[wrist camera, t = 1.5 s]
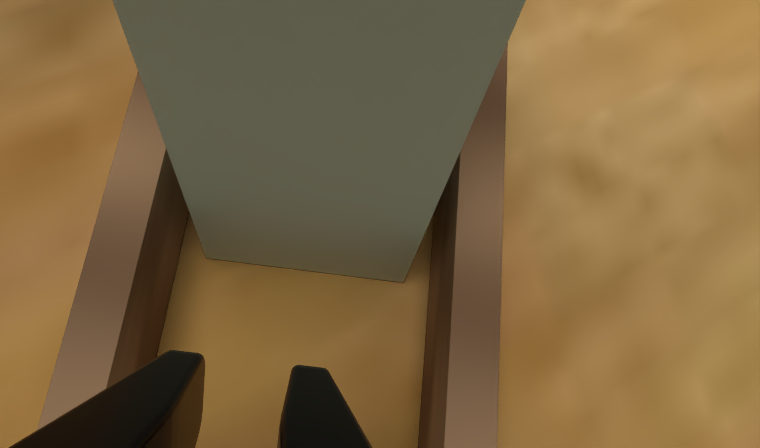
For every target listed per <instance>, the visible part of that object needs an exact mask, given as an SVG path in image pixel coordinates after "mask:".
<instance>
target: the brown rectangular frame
mask: <svg viewBox="0 0 760 448" xmlns="http://www.w3.org/2000/svg"><path fill="white" fill-rule="evenodd" d="M507 47H508V42H507V45H506V47H505V49H504V52H503V54H502V56H501V59H500V61H499V63H498V65H497V68H496V70H495V72H494V75H493V77H492V79H491V82H490V84H489V86H488V89H487V91H486V93H485V95H484V98H483V100H482V102H481V105H480V107H479V109H478V112H477V114H476V116H475V119H474V121H473V123H472V125H471V128H470V130H469V132H468V135H467V137H466V139H465V142H464V144H463V146H462V149H461V151H460V153H459V155H458V158H457V160H456V162H455V165H454V167H453V169H452V172H451V174H450V176H449V179H448V181H447V183H446V185H445V188H444V190H443V192H442V195H441V197H440V199H439V202H438V204H437V206H436V209H435V211H434V225H433V239H432V253H431V268H430V282H429V296H428V311H427V325H426V339H425V353H424V368H423V382H422V396H421V411H420V425H419V439H418V448H497V421H498V383H499V346H500V308H501V271H502V234H503V196H504V159H505V121H506V84H507ZM188 213H189V210H188V207H187V204H186V201H185V199H184V196H183V193H182V190H181V188H180V185H179V182H178V179H177V177H176V174H175V171H174V168H173V166H172V163H171V160H170V157H169V155H168V152H167V149H166V146H165V143H164V141H163V138H162V135H161V132H160V130H159V127H158V124H157V121H156V119H155V116H154V113H153V110H152V108H151V105H150V102H149V99H148V97H147V94H146V91H145V88H144V86H143V83H142V80H141V77H140V74H139V72H138V74H137V77H136V81H135V84H134V88H133V91H132V95H131V98H130V102H129V106H128V109H127V113H126V116H125V120H124V123H123V127H122V130H121V134H120V138H119V141H118V145H117V148H116V152H115V155H114V159H113V162H112V166H111V170H110V173H109V177H108V180H107V184H106V187H105V191H104V194H103V198H102V202H101V205H100V209H99V212H98V216H97V219H96V223H95V226H94V230H93V234H92V237H91V241H90V244H89V248H88V251H87V255H86V258H85V262H84V266H83V269H82V273H81V276H80V280H79V283H78V287H77V290H76V294H75V298H74V301H73V305H72V308H71V312H70V315H69V319H68V322H67V326H66V330H65V333H64V337H63V340H62V344H61V347H60V351H59V354H58V358H57V362H56V365H55V369H54V372H53V376H52V379H51V383H50V386H49V390H48V394H47V397H46V401H45V404H44V408H43V411H42V415H41V418H40V422H39V426H38V429H37V430H39V429H40V428H42V427H44V426H45V425H47V424H48V423H50V422H52V421H53V420H55V419H57V418H58V417H60V416H62V415H63V414H65V413H67V412H68V411H70V410H71V409H73V408H75V407H76V406H78V405H80V404H81V403H83V402H85V401H86V400H88V399H90V398H91V397H93V396H95V395H96V394H98V393H99V392H101V391H103V390H104V389H106V388H108V387H109V386H111V385H113V384H114V383H116V382H118V381H119V380H121V379H122V378H124V377H126V376H127V375H129V374H131V373H132V372H134V371H136V370H137V369H139V368H141V367H142V366H144V365H146V364H147V363H149V362H150V361H152V360H154V359H155V358H156V356H157V351H158V347H159V342H160V338H161V334H162V329H163V325H164V320H165V316H166V311H167V307H168V302H169V298H170V293H171V289H172V285H173V280H174V276H175V271H176V267H177V262H178V258H179V253H180V249H181V244H182V240H183V236H184V231H185V227H186V222H187V218H188Z"/></svg>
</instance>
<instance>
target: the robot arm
mask: <svg viewBox="0 0 760 448" xmlns="http://www.w3.org/2000/svg"><path fill="white" fill-rule="evenodd" d="M204 376H205V359H204V357H203V355H201V354H199V353H192V352H184V351H176V350H170V351H167V352H165V353H164V354H162V355H160V356H159V357H157V358H155V359H154V360H152V361H150V362H149V363H147V364H146V365H144V366H142V367H141V368H139V369H137V370H136V371H134V372H132V373H131V374H129V375H127V376H126V377H124V378H122V379H121V380H119V381H118V382H116V383H114V384H113V385H111V386H109V387H108V388H106V389H104V390H103V391H101V392H99V393H98V394H96V395H95V396H93V397H91V398H90V399H88V400H86V401H85V402H83V403H81V404H80V405H78V406H76V407H75V408H73V409H71V410H70V411H68V412H67V413H65V414H63V415H62V416H60V417H58V418H57V419H55V420H53V421H52V422H50V423H48V424H47V425H45V426H44V427H42V428H40V429H39V430H37V431H35V432H34V433H32V434H30V435H29V436H27V437H25V438H24V439H22V440H21V441H19V442H17V443H16V444H14V445H12V446H11V447H9V448H195V445H196V442H197V438H198V434H199V430H200V425H201V420H202V410H203V393H204ZM277 448H372V446H371V445H370V443H369V441H368V439H367V438H366V436H365V434H364V432H363V431H362V429H361V427H360V425H359V424H358V422H357V420H356V418H355V417H354V415H353V413H352V411H351V410H350V408H349V406H348V405H347V403H346V401H345V399H344V398H343V396H342V394H341V392H340V391H339V389H338V387H337V385H336V384H335V382H334V380H333V378H332V377H331V375H330V373H329V371H328V370H327V369H325V368H321V367H312V366H303V365H296V366H294V367H293V368H292V371H291V375H290V379H289V384H288V388H287V392H286V397H285V401H284V406H283V410H282V414H281V420H280V427H279V436H278V445H277Z"/></svg>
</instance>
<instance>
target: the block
mask: <svg viewBox="0 0 760 448" xmlns="http://www.w3.org/2000/svg"><path fill="white" fill-rule="evenodd" d="M525 1H526V0H113V3H114V6H115V8H116V11H117V14H118V17H119V19H120V22H121V25H122V28H123V30H124V33H125V36H126V39H127V41H128V44H129V47H130V50H131V52H132V55H133V58H134V61H135V63H136V66H137V69H138V72H139V74H140V77H141V80H142V83H143V86H144V88H145V91H146V94H147V97H148V99H149V102H150V105H151V108H152V110H153V113H154V116H155V119H156V121H157V124H158V127H159V130H160V132H161V135H162V138H163V141H164V143H165V146H166V149H167V152H168V155H169V157H170V160H171V163H172V166H173V168H174V171H175V174H176V177H177V179H178V182H179V185H180V188H181V190H182V193H183V196H184V199H185V201H186V204H187V207H188V210H189V212H190V215H191V218H192V221H193V223H194V226H195V229H196V232H197V235H198V237H199V240H200V243H201V246H202V248H203V251H204V254H205V257H206V258H210V259H218V260H226V261H234V262H242V263H250V264H258V265H266V266H274V267H282V268H290V269H298V270H306V271H314V272H322V273H330V274H338V275H346V276H354V277H362V278H371V279H379V280H387V281H395V282H404V280H405V278H406V275H407V273H408V271H409V269H410V266H411V264H412V262H413V259H414V257H415V255H416V252H417V250H418V248H419V245H420V243H421V241H422V239H423V236H424V234H425V232H426V229H427V227H428V225H429V222H430V220H431V218H432V215H433V213H434V211H435V209H436V206H437V204H438V202H439V199H440V197H441V195H442V192H443V190H444V188H445V185H446V183H447V181H448V179H449V176H450V174H451V172H452V169H453V167H454V165H455V162H456V160H457V158H458V155H459V153H460V151H461V149H462V146H463V144H464V142H465V139H466V137H467V135H468V132H469V130H470V128H471V125H472V123H473V121H474V119H475V116H476V114H477V112H478V109H479V107H480V105H481V102H482V100H483V98H484V95H485V93H486V91H487V89H488V86H489V84H490V82H491V79H492V77H493V75H494V72H495V70H496V68H497V65H498V63H499V61H500V59H501V56H502V54H503V52H504V49H505V47H506V45H507V42H508V40H509V38H510V35H511V33H512V31H513V29H514V26H515V24H516V22H517V19H518V17H519V15H520V12H521V10H522V8H523V5H524V3H525Z"/></svg>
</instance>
